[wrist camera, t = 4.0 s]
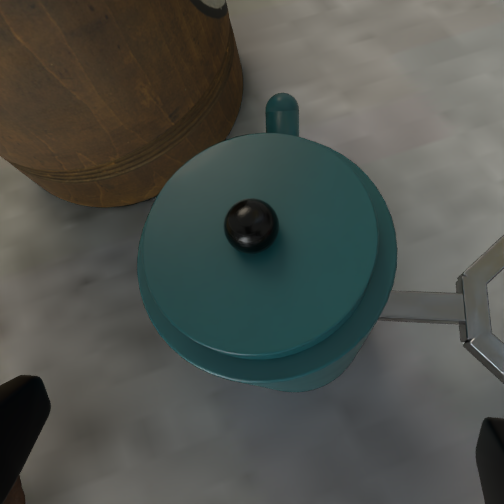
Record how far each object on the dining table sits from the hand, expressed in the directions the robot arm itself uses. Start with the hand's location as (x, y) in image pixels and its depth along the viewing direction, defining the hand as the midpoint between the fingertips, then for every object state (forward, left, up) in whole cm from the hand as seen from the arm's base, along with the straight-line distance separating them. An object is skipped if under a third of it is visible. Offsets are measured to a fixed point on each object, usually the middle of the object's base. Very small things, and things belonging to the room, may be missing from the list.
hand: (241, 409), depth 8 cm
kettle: (+1, -7, -10) cm, 13 cm away
